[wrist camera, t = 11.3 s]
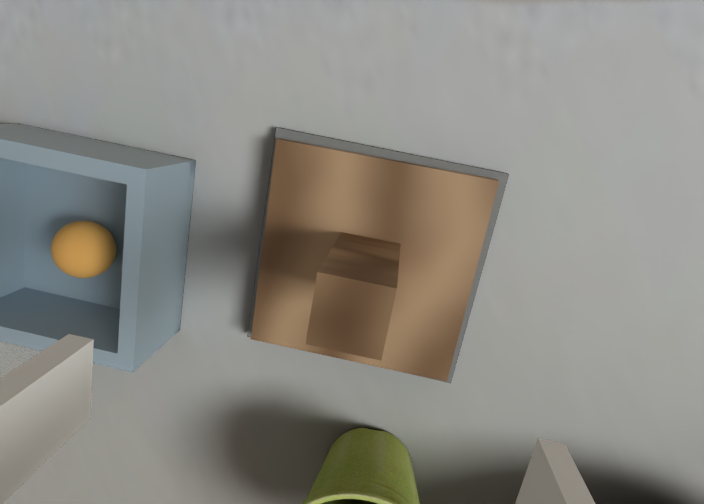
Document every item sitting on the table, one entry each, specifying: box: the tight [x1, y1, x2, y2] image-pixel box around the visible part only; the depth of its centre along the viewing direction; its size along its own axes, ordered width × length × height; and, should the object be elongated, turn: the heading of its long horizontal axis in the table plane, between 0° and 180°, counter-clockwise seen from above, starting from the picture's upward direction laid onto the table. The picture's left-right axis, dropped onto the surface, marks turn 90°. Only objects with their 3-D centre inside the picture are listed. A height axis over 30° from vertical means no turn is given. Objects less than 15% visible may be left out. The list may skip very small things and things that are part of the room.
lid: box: [251, 138, 499, 382], centre depth 26 cm, size 13×13×9 cm
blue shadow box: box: [0, 124, 196, 373], centre depth 30 cm, size 12×12×6 cm
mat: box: [247, 128, 509, 383], centre depth 31 cm, size 14×14×1 cm
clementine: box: [51, 221, 117, 278], centre depth 30 cm, size 4×4×4 cm
